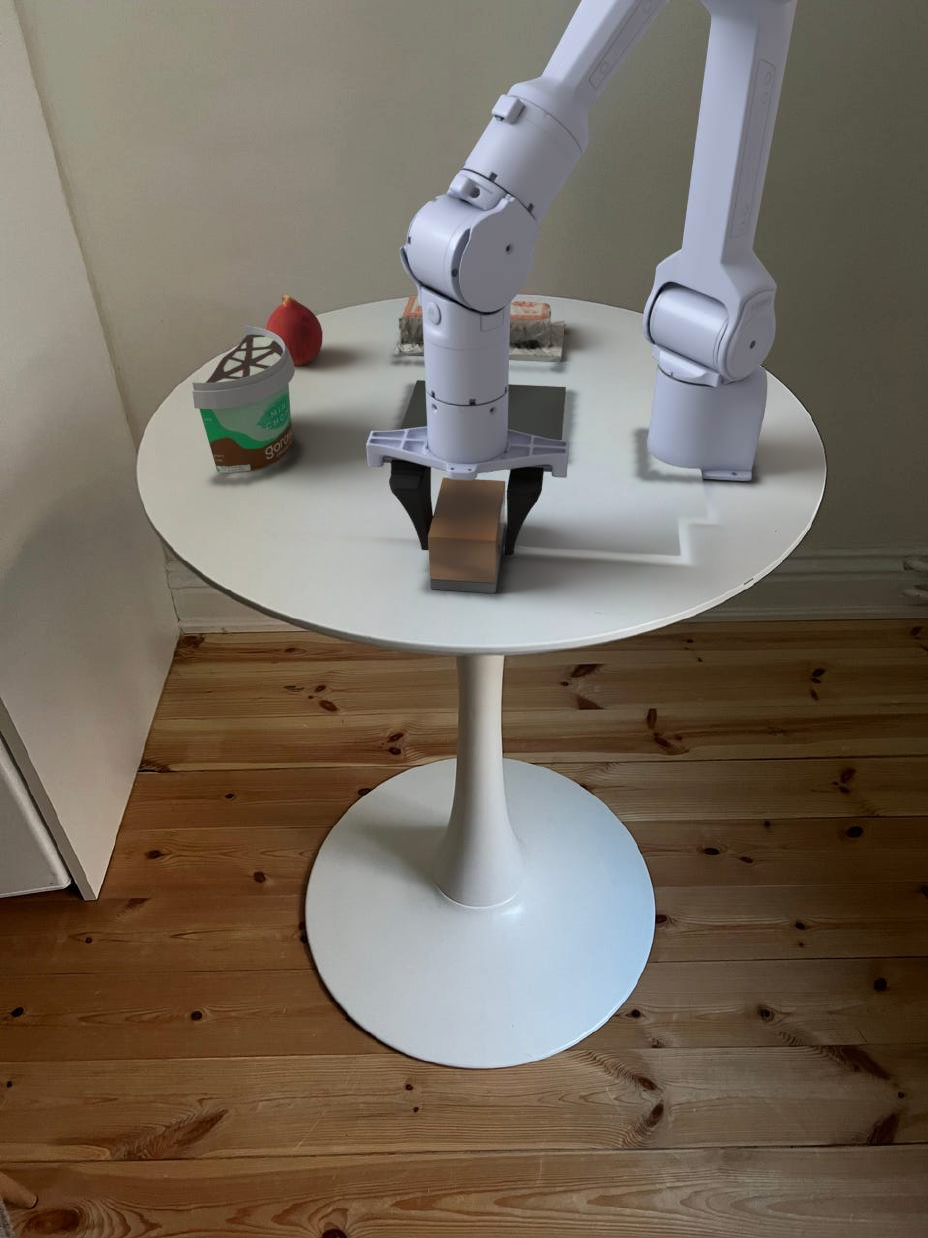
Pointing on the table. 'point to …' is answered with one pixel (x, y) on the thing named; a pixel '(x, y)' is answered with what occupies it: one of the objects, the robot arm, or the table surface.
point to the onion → (297, 330)
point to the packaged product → (527, 332)
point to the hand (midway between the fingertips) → (468, 545)
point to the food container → (248, 403)
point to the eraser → (467, 535)
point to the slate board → (526, 409)
